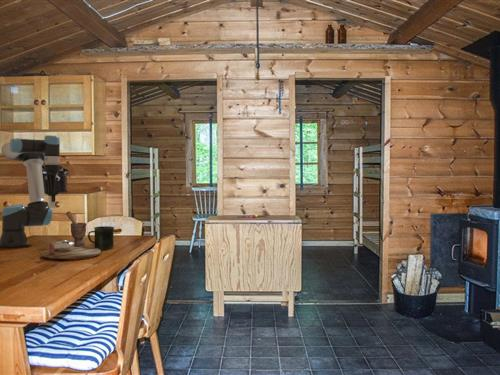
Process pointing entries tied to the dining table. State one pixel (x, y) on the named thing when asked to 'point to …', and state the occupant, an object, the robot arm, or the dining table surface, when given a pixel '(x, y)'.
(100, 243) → the mug
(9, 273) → the dining table surface
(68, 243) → the cover
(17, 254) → the dining table surface
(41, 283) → the dining table surface
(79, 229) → the mortar and pestle
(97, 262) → the dining table surface
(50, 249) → the turntable
